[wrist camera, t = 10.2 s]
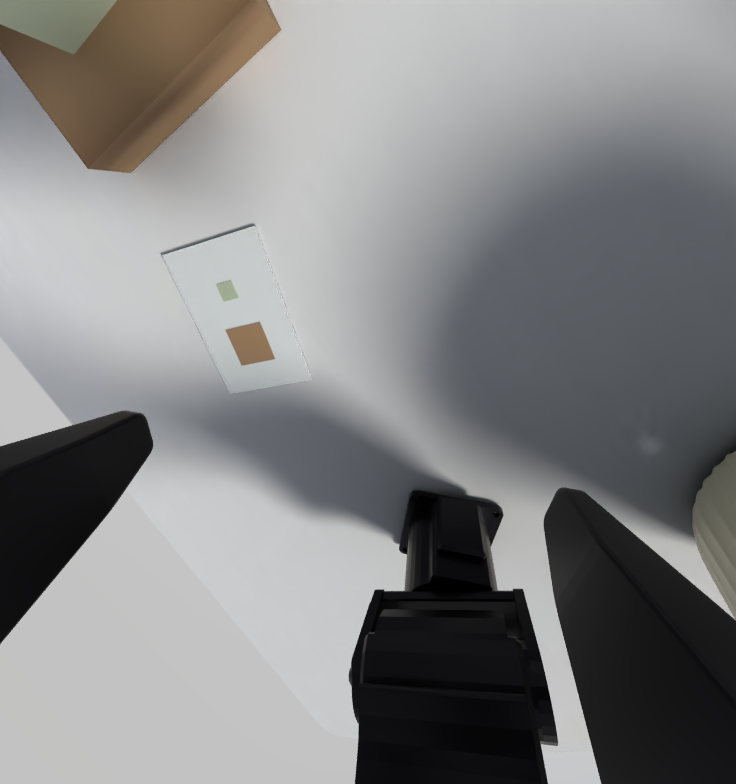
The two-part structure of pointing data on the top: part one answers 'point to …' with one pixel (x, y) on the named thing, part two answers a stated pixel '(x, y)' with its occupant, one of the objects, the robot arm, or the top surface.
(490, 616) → the robot arm
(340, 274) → the top surface
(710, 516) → the canister
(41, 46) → the foundation slab
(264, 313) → the blueprint card
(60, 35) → the pillar
